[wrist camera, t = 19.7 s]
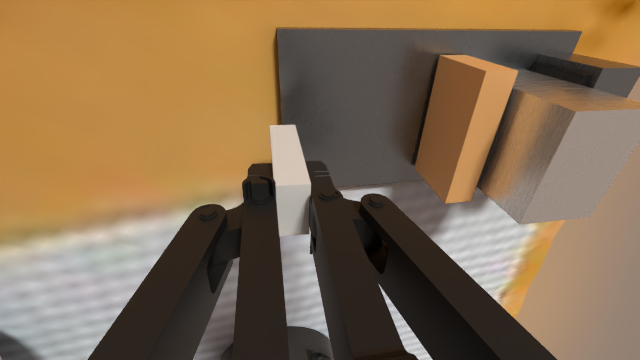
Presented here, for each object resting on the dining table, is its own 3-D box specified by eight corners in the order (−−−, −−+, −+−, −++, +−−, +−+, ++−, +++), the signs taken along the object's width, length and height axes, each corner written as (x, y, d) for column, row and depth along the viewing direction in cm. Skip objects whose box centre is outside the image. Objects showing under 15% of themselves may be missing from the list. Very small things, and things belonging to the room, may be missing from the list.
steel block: (494, 152, 26) (589, 216, 18) (442, 155, 25) (519, 224, 18) (525, 69, 22) (661, 108, 15) (465, 70, 21) (576, 111, 14)
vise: (511, 167, 29) (564, 204, 24) (284, 184, 25) (290, 231, 20) (570, 29, 22) (660, 40, 17) (276, 27, 19) (282, 39, 14)
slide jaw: (441, 166, 25) (477, 200, 21) (414, 168, 25) (445, 203, 21) (472, 55, 21) (526, 70, 16) (439, 55, 20) (486, 71, 16)
